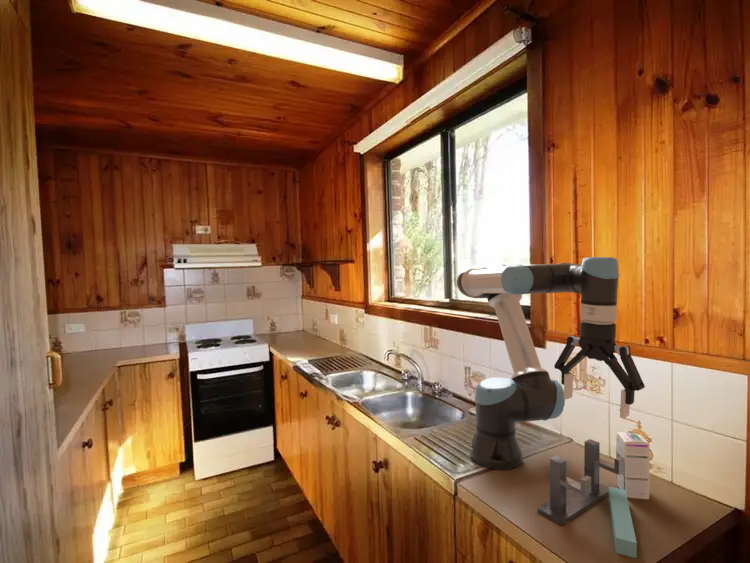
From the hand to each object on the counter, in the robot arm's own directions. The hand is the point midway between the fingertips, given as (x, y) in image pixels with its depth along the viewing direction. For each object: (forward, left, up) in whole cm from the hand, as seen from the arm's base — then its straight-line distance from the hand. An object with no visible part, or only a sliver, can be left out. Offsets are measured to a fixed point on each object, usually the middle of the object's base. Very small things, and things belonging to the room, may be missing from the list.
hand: (594, 406), depth 96 cm
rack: (0, -4, -24) cm, 24 cm away
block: (+8, -4, -24) cm, 26 cm away
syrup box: (+4, +11, -24) cm, 27 cm away
